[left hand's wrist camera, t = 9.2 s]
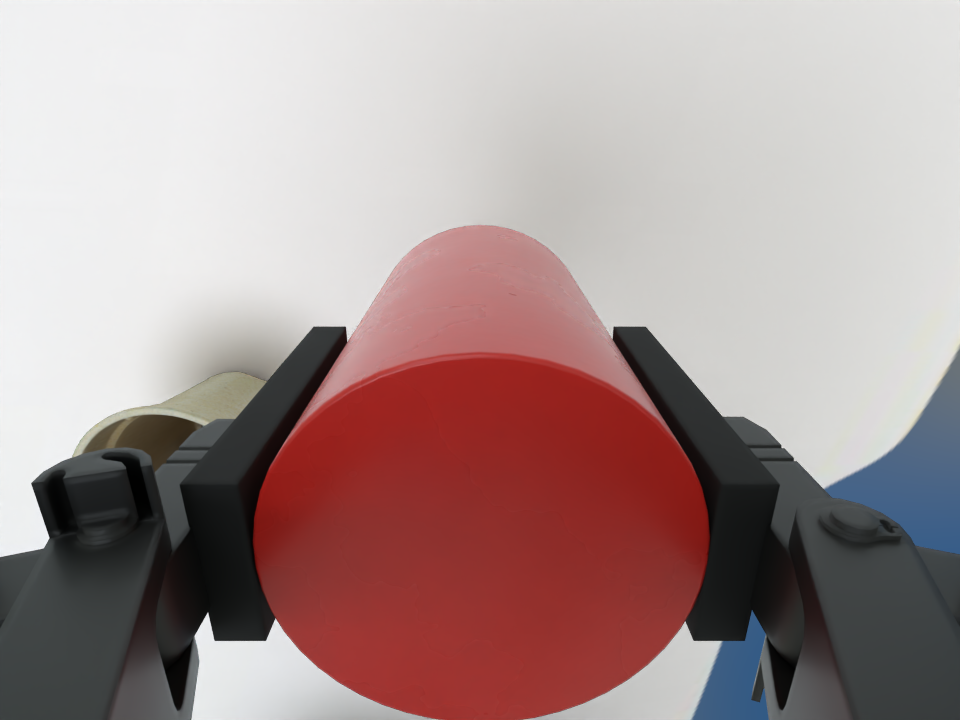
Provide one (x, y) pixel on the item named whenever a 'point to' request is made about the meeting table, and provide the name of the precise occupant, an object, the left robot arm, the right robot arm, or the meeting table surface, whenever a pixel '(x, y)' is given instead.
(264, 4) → the meeting table surface
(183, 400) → the flower pot
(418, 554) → the can
